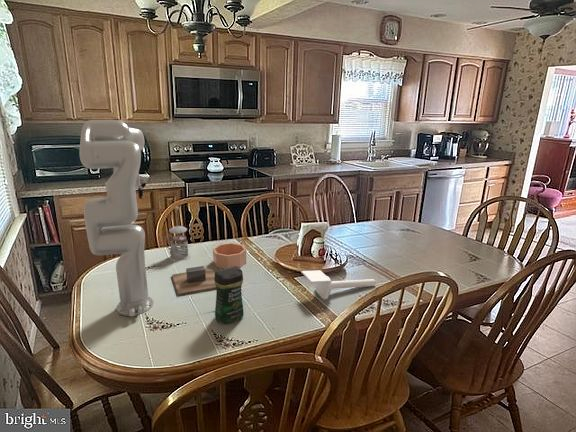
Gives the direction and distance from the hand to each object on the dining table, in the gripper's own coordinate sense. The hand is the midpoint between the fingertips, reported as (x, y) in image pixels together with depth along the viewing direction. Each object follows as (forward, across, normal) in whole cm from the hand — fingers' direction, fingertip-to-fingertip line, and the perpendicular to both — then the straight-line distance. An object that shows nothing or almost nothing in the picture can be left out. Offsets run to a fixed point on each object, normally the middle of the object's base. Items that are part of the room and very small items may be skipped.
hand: (128, 199), depth 167 cm
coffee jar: (+30, +19, -64) cm, 73 cm away
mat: (+30, +17, -34) cm, 48 cm away
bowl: (+30, +37, -23) cm, 53 cm away
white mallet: (+30, +65, -69) cm, 99 cm away
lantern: (+30, +18, -5) cm, 35 cm away
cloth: (+29, +17, -34) cm, 48 cm away
